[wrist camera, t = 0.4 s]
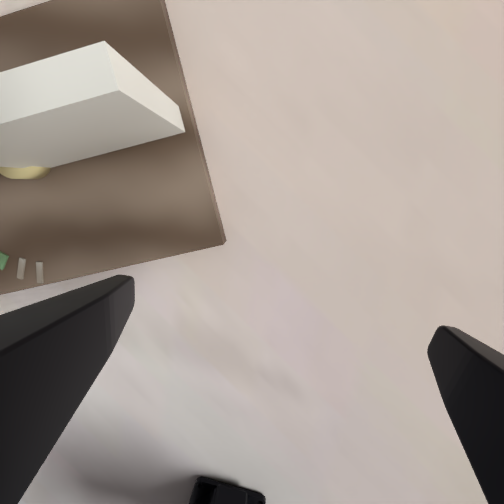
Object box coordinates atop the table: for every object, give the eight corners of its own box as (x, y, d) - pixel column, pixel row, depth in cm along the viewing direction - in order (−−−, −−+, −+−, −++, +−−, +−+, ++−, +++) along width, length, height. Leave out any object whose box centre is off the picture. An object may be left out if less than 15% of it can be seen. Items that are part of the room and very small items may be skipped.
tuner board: (226, 240, 23) (223, 244, 21) (-12, 294, 25) (-31, 302, 23) (160, -16, 19) (150, -34, 18) (-110, 69, 21) (-140, 60, 20)
